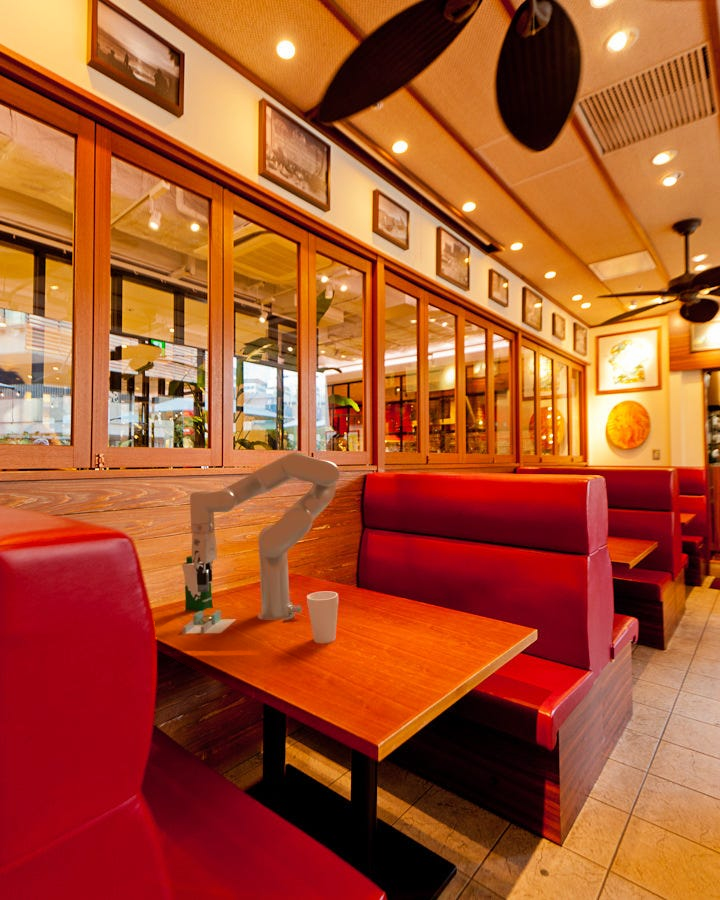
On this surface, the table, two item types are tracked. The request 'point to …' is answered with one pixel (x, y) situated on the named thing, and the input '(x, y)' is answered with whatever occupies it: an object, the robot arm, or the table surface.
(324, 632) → the foam cup
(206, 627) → the board
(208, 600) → the milk carton
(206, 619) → the plunger
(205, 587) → the cell
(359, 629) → the table surface
